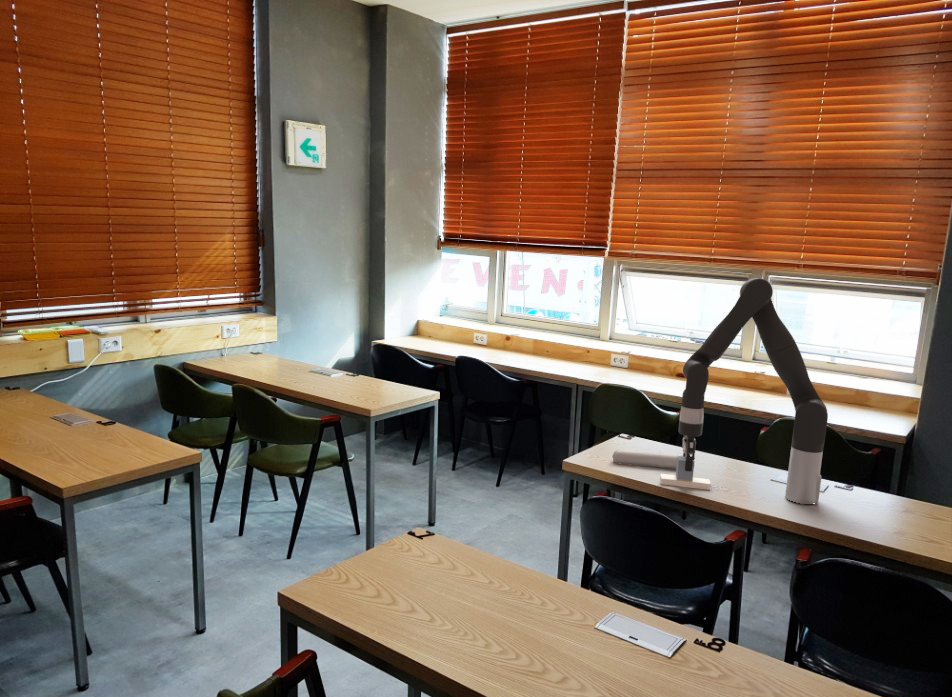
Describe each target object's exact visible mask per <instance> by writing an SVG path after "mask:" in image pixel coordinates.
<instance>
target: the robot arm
mask: <svg viewBox="0 0 952 697" xmlns="http://www.w3.org/2000/svg"><path fill="white" fill-rule="evenodd" d="M773 292H774V290H773V287H772V285H771V283H770V282H769V281H768V280H766V279H765V278H761V277H760V278H759V277H755V278H751V279H749V280H747V281H746V282H744V283H743V284H742V285H741V287H740V290H739V297H738V299H737V300H736V303H735V304H734V306H733V307H732V308H731V310H729V312H728V314H727V315H726V316H725V317H724V318H723V319H722V320H721V322H720V323H718V324H717V325H716V327H715V328H714V329H713V330H712V331H711V333H710V334H709V336H708V337H707V338H706V339H705V341H704V342H703V343H702V344H701V346H700V347H699V348H698V349H697V350H696V351H695V352H694V353H693V354H692V355H691V356H690V357H689V358H688V359H687V360H686V362H685V363H684V365H683V368H682V373H683V376H684V377H685V378H686V382H685V389H684V390H683V392H682V397H681V406H680V407H681V408H680V412H679V421H678V422H679V423H678V433H679V434H680V435H682V436H683V437H682V447H681V448H682V452H683V454H682V455H683V456H684V457H685V459H686V462H685V471H689V472H691V471H692V465H693V460H694V461H695V459H696V458H695V457H696V456H695V454H696V445H697V441H696V438H695V437H701V436H702V435H703V427H704V418H705V417H704V416H705V415H704V414H705V412H704V407H705V394H706V390H707V386H708V382H709V377H710V376H709V375H710V374H709V373H710V371H709V367H710V366H711V365H712V364H713V363H714V362H716V361H719V359H721V358H722V356H723V355H724V354H725V352H726V351H727V350H728V348H729V347H730V346H731V345H732V343H733V341H734V340H735V339H736V337H737V336H738V335H739V333H740V332H741V331H742V329H743V328H744V327H745V325H746V324H748V321H749V322H750V320H751V319H752V320H753V322H754V324H755V327H756V328H757V332H758V334H759V337H760V340H761V342H762V345H763V348H764V351H765V353H766V354H767V357H768V359H769V361H770V363H771V366H772V367H773V369H774V370H775V372H776V374H777V375H778V377H779V378H780V380H781V381H782V382H783V384H784V385H785V387H786V389H787V391H788V393H789V395H790V397H791V400H792V403H793V407H794V411H795V414H794V421H793V422H794V423H793V431H792V439H791V445H790V448H791V449H790V456H789V463H788V470H787V471H788V472H787V478H786V488H785V495H784V498H785V499H786V500H787V499H788V501H789V500H790V501H789V502H791V501H793V502H792V503H794V502H796V503H795V504H798V503H800V505H804V504H813V503H815V504H813V505H817V504H818V505H819V499H820V492H821V484H822V478H823V477H822V475H821V468H822V460H823V454H824V453H823V452H824V446H825V441H826V435H827V434H826V433H827V426H828V420H829V419H828V417H829V414H828V409H827V407H826V406H827V405H825V403H824V402H823V400H822V398H821V397H820V395H819V394H818V392H817V391H816V389H815V387H814V385H813V383H812V381H811V379H810V375H809V374H808V369H807V366H806V364H805V361H804V358H803V356H802V354H801V351H800V348H799V347H798V345H797V343H796V340H795V338H794V337H793V335H792V333H791V332H790V330H789V329H788V328H787V327H786V325H785V323H784V322H783V320H781V318H780V316H779V315H778V313H777V310H776V309H775V306H774V303H773V300H772V297H773Z"/></svg>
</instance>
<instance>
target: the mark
mask: <svg viewBox="0 0 952 697" xmlns="http://www.w3.org/2000/svg"><path fill="white" fill-rule="evenodd" d="M715 488H717V489H715ZM710 490H712V491H719V488H718V485H711V488H710ZM710 490H709V491H710Z"/></svg>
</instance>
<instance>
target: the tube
mask: <svg viewBox="0 0 952 697" xmlns="http://www.w3.org/2000/svg"><path fill="white" fill-rule="evenodd" d="M678 456H683V454H680V455H679V454H671V453H670V454H669V453H660V452H659V453H658V452H648V451H638V450H637V451H636V450H624V449H623V450H622V449H617V450H615V451H614V452H613V453H612V461H613V462H614V463H615V464H619V463H621V464H623V465H629V464H631V465H632V466H640V465H641V466H642V467H651V468H661V469H669V470H670V469H673V470H676V468H677V458H678ZM641 466H640V467H641Z"/></svg>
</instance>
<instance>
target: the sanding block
mask: <svg viewBox="0 0 952 697" xmlns="http://www.w3.org/2000/svg"><path fill="white" fill-rule="evenodd" d="M685 462H686V459H685V457H684V456H678V458H677V468H676V469H675V470H676V471H675V476H676V479H677V480H679V481H687V482H692V481H693V478H694V470H695V469H694V468H695V459H694V460H693V465H692V471H691V472H689V471H685Z"/></svg>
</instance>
